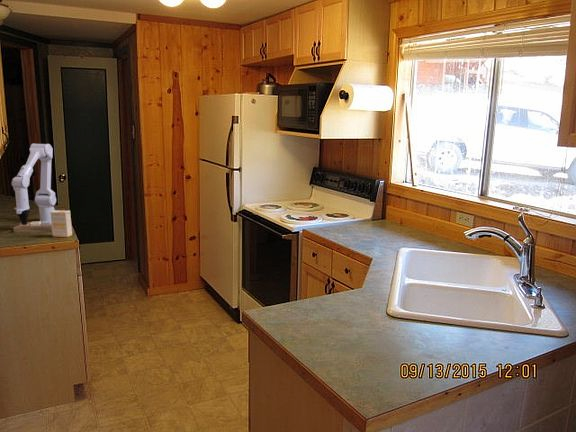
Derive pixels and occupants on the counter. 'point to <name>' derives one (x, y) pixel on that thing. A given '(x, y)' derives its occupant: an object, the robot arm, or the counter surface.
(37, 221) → the cream key
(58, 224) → the supplement box
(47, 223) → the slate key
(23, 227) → the key panel
